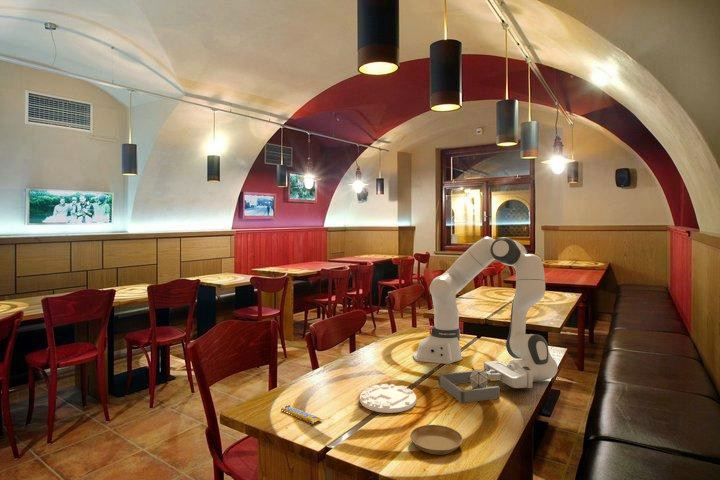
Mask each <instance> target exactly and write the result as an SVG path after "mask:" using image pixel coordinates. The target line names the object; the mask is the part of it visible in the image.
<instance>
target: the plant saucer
mask: <svg viewBox="0 0 720 480" xmlns="http://www.w3.org/2000/svg"><path fill="white" fill-rule="evenodd" d="M409 436H410V440H411V441H412V442H413V444H414V445H415V446H416V447H417V448H418V449H419V450H421V451H422V452H424V453H427V454H431V455H438V456H440V455H442V456H443V455H449V454H450V453H453V452H454V451H456V450H457V449H458V448H459V447H460V446H461V445H462V443H463V440H464V439H463V435H462V434H461V433H460V432H459V431H458V430H455V429H454V428H452V427H449V426H445V425H440V424H425V425H421V426H420V425H419V426H417V427H415V428H413V429H412V431H411V432H410V434H409Z"/></svg>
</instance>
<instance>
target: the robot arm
mask: <svg viewBox="0 0 720 480" xmlns="http://www.w3.org/2000/svg"><path fill="white" fill-rule="evenodd" d="M493 261H496V262H499V263H501V264H502V265H505V266H509V267H513V268H514V270H515V293H514V296H513V299H512V303H511V309H510V311H511V312H510V321H509V322H510V323H509V331H508V335H507V339H506V342H505V349H506V351H507V353H508V354H509V355H510V356H511V358H513V360H510V361H509V362H508V363H505V362H503V361H499V360H493V361H492V360H489V361H484V362H483V370H485V369H486V370H485V371H486V374H487V376H488V379H489V380H497V381H500V382H502V383H504V384H506V385H507V386H509V387H510V388H513V389H525V388H527V389H530V388H533V382H543V381H546V380H547V381H548V380H550V379H551V380H552V379H553V378H554V377H555V376H556V375H557V373H558V363H557V361H556V360H555V358H553V356H551V353H550V351H549V344H548V342H547V339H545V337H544V336H543V335H540V334H539V333H538V334H535V333H534V334H533V333H529V334H528V333H526V325H527V315H528V312H529V311H530V309H531V308H532V307H533V306H535V305H536V304H538V303H539V302H540V301H541V300H542V299H543V298H544V297H545V293H546V275H545V268H544V263H543V261H542V258H541V257H540V256H539V255H537V254H533V253H529V251H528V249H527V247H526V246H525V245H524V244H521V242H519V241H517V240H515V239H512V238H510V237H506V236H504V237H498V238H496V239H495V238H493V237H491V236H484V237H482V238H481V239H479V240H478V241H476V242H475V243H474V244H472V245H471V246H470V247H469V248H467V250H465V251H464V253H462V254H461V255H460V256H459V257H458V258H457V259H456V260H455V261H454V262H453V263H452V265H451V266H450V267H449V268H447V270H446V271H445V272H444V273H442V274H441V275H438V276H435V278H433V280H432V281H431V283H430V284H429V293H430V295H431V299H432V300H431V301H432V305H433V312H434V314H433V315H434V316H433V317H434V321H433V322H434V326H433V325H429V326H428V330H429V335H428V336H426V337H425V338H423V339H422V340H421V341H420V342H419V344H418V348H417V350H415V351H413V354H412V358H413V360H414V361H417V362H424V363H434V364H435V363H436V364H444V365H450V364H452V363H455V362H459V361H461V360H463V355H462V351H461V348H460V347H461V345H460V338H461V330H460V327H459V325H460V324H459V323H460V322H459V321H460V320H459V319H460V317H459V315H460V314H459V313H460V311H459V309H458V304H457V300H456V299H457V294H458V293H459V292H461V291H462V290H463V289H464V288H465V287H466V286H467V285H468V284H469V283H470V282H471V281H472V280H474V279H475V278H476V277H477V276H478V275H479V274H480V273H481V272H482V271H484V270H485V269H486V268H487V267H488V266H489V265H490V264H491V263H492V262H493ZM514 359H515V360H514Z"/></svg>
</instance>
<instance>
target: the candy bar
mask: <svg viewBox="0 0 720 480" xmlns="http://www.w3.org/2000/svg"><path fill="white" fill-rule="evenodd" d="M282 410H283V411H285V412H288V413H290V414H292V415H294V416H297V417H299V418H301V419H303V420H305V421H304V422H306V421H307V422H306V423H308V422H309V423H308V424H310V423H312V424H313V425H314V424H316V423H317V422H319V421H322V420H324V419H322V418H320V417H319V416H317V415H314V414H311V413H309V412H307V411H304V410H300V409H298V408H295V407H293V406H291V404H289V405H285V406H284V407H281V409H280V411H281V412H282ZM294 416H293V417H294ZM301 419H300V420H301ZM303 420H302V421H303ZM312 424H311V425H312Z"/></svg>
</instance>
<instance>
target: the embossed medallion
mask: <svg viewBox="0 0 720 480" xmlns="http://www.w3.org/2000/svg"><path fill="white" fill-rule="evenodd" d="M359 403H360V404H361V405H362V406H363V408H365V409H368V410H370V411H372V412H376V413H384V414H385V413H387V414H390V413H391V414H392V413H401V412H405V411H409V410H411V409H413V408H414V406H415V405H416V403H417V395H416V394H415V392H414V390H413V389H410V388H407V386H404V385H399V386H398V385H395V384H394V383H391V384H390V385H389V384H388V383H382V384H380V385H379V384H374V385H372V386H371V387H369V386H368V387H366V388H365V389H364V390H362V391H361V393H360V396H359Z"/></svg>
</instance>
